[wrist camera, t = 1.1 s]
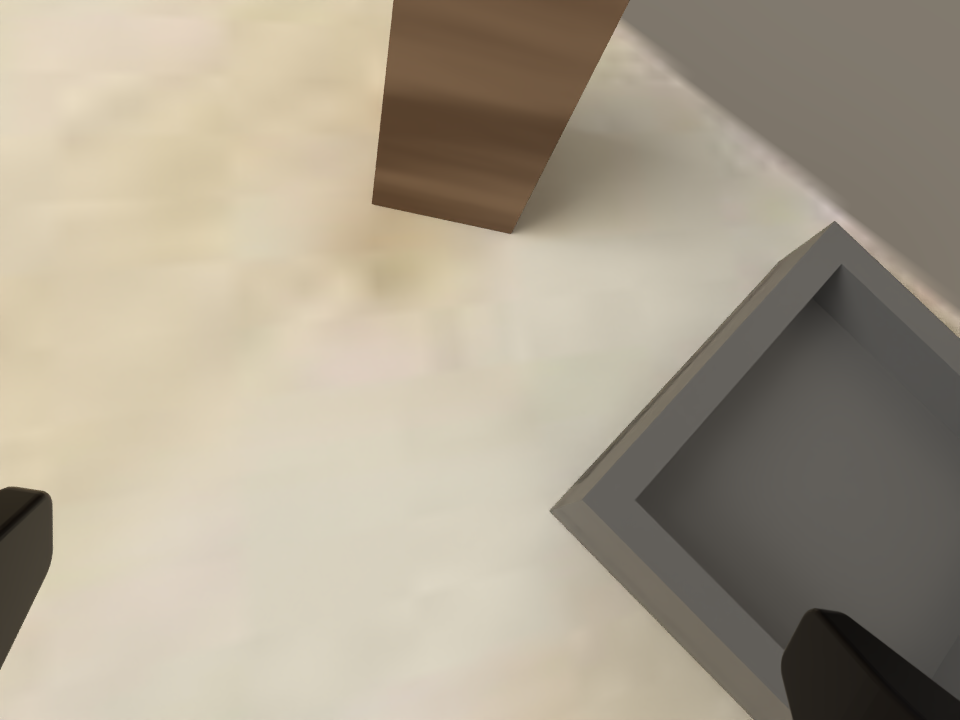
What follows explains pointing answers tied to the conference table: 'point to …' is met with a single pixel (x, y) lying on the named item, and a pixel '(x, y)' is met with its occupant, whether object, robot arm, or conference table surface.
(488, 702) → the conference table surface
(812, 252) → the tray
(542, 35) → the block
